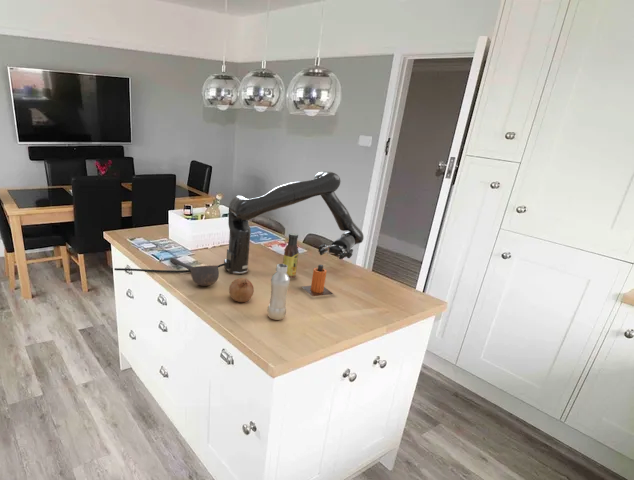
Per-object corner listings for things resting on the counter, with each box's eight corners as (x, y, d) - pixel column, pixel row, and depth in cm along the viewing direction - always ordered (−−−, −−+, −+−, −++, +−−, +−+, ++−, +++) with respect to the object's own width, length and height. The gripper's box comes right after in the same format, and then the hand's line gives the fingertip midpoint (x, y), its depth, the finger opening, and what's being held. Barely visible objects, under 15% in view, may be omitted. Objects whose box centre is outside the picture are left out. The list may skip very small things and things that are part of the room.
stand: (312, 298, 168) (316, 270, 163) (300, 288, 176) (304, 261, 171) (333, 296, 171) (338, 268, 166) (320, 286, 180) (324, 260, 175)
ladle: (200, 288, 163) (199, 262, 161) (159, 279, 194) (158, 258, 192) (225, 286, 170) (225, 261, 168) (181, 278, 200) (181, 257, 199)
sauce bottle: (294, 280, 184) (300, 237, 175) (280, 278, 185) (285, 235, 176) (296, 275, 190) (301, 233, 181) (282, 273, 191) (287, 231, 182)
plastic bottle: (265, 313, 152) (270, 261, 144) (283, 314, 153) (290, 262, 145) (267, 321, 146) (273, 268, 138) (286, 322, 147) (293, 269, 139)
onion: (244, 311, 159) (249, 294, 152) (223, 300, 161) (226, 283, 153) (255, 295, 165) (260, 278, 158) (234, 285, 167) (238, 268, 159)
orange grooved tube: (314, 293, 170) (317, 272, 166) (308, 288, 174) (311, 268, 171) (325, 292, 172) (329, 271, 168) (319, 287, 176) (322, 267, 173)
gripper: (328, 235, 191) (315, 243, 178) (358, 241, 185) (348, 249, 172) (325, 250, 195) (313, 259, 182) (355, 257, 189) (345, 266, 176)
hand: (330, 254), depth 177 cm, fingers open, 8 cm apart
